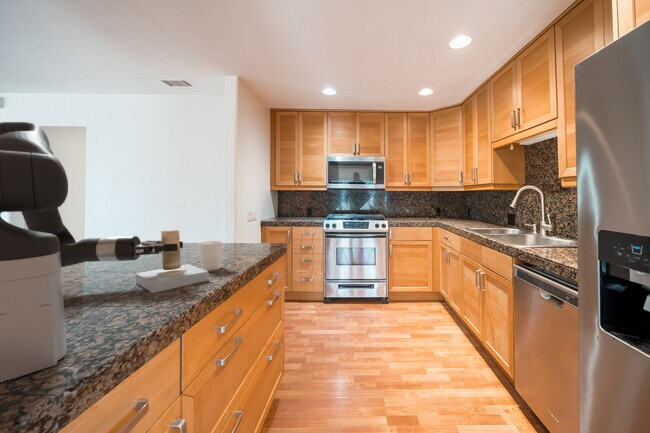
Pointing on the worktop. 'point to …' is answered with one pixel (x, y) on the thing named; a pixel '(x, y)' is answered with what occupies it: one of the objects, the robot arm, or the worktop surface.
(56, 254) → the robot arm
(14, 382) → the worktop surface
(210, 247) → the white cup
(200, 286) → the worktop surface
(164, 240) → the maple pillar
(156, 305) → the worktop surface
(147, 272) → the light grey plinth
